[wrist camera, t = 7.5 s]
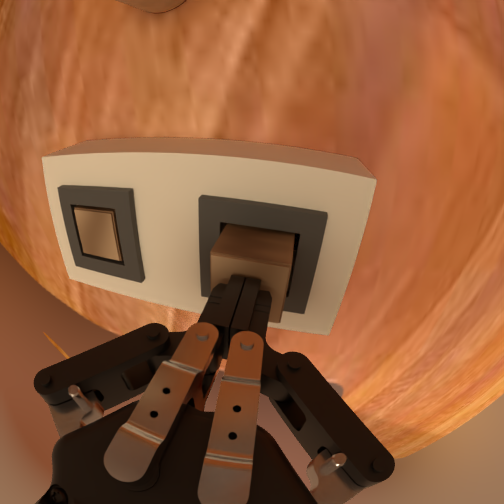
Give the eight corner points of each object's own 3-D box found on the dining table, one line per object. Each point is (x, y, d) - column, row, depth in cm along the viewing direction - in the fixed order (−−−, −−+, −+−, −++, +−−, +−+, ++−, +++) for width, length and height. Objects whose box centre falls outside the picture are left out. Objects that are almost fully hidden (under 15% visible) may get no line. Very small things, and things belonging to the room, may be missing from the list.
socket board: (357, 158, 18) (379, 182, 13) (326, 287, 25) (329, 341, 19) (86, 140, 21) (36, 159, 15) (102, 247, 27) (66, 281, 22)
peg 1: (156, 182, 22) (111, 212, 17) (159, 223, 24) (120, 262, 19) (120, 180, 23) (73, 208, 17) (124, 218, 25) (83, 253, 19)
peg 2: (296, 212, 18) (291, 266, 13) (288, 261, 21) (280, 324, 15) (238, 204, 19) (209, 253, 13) (236, 252, 21) (210, 312, 15)
